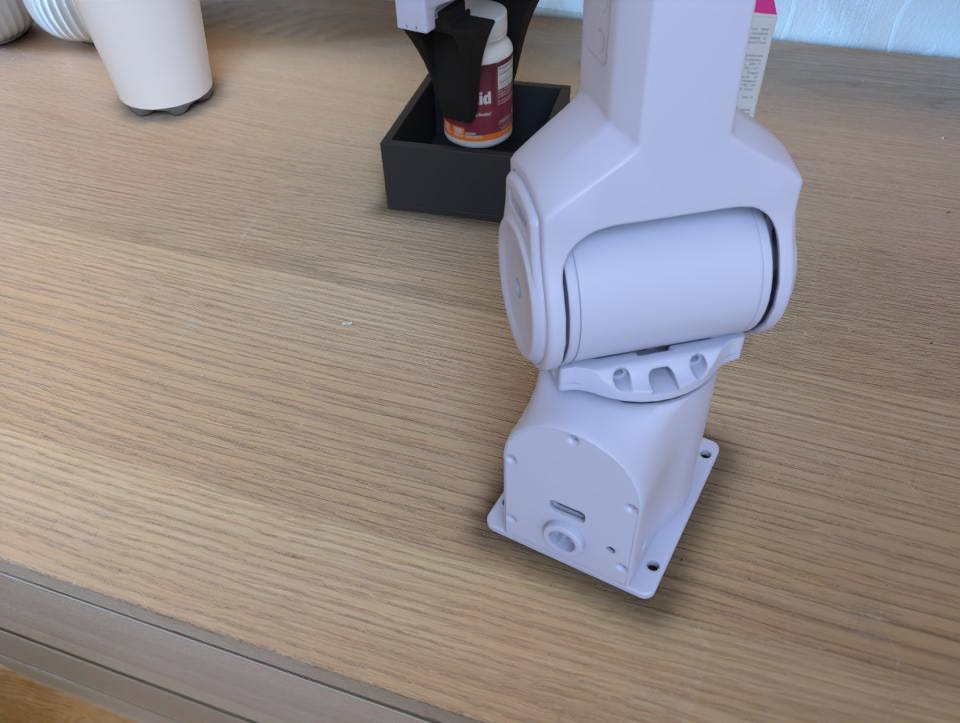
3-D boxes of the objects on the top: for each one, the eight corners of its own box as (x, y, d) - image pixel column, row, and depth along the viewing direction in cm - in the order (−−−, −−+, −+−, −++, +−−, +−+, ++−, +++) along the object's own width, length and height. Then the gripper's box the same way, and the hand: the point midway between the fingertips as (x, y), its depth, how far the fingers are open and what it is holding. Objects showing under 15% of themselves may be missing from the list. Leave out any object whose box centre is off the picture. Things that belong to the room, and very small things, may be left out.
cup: (213, 125, 66) (167, -42, 57) (92, 128, 66) (28, -39, 58) (239, 72, 73) (202, -84, 65) (130, 75, 73) (79, -81, 65)
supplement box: (742, 179, 58) (779, 15, 50) (658, 172, 59) (680, 10, 51) (740, 139, 62) (774, -18, 54) (661, 133, 63) (683, -22, 55)
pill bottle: (433, 143, 56) (423, 19, 50) (461, 112, 59) (455, -8, 53) (497, 155, 55) (495, 29, 49) (522, 123, 58) (523, 1, 52)
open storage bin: (539, 227, 54) (541, 160, 51) (387, 208, 57) (379, 143, 53) (567, 148, 62) (570, 85, 58) (432, 134, 64) (427, 72, 61)
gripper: (474, -162, 52) (480, 50, 61) (337, -103, 43) (368, 134, 52) (576, -152, 49) (566, 67, 59) (453, -87, 40) (464, 160, 50)
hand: (479, 101), depth 55 cm, fingers closed on pill bottle, 5 cm apart
